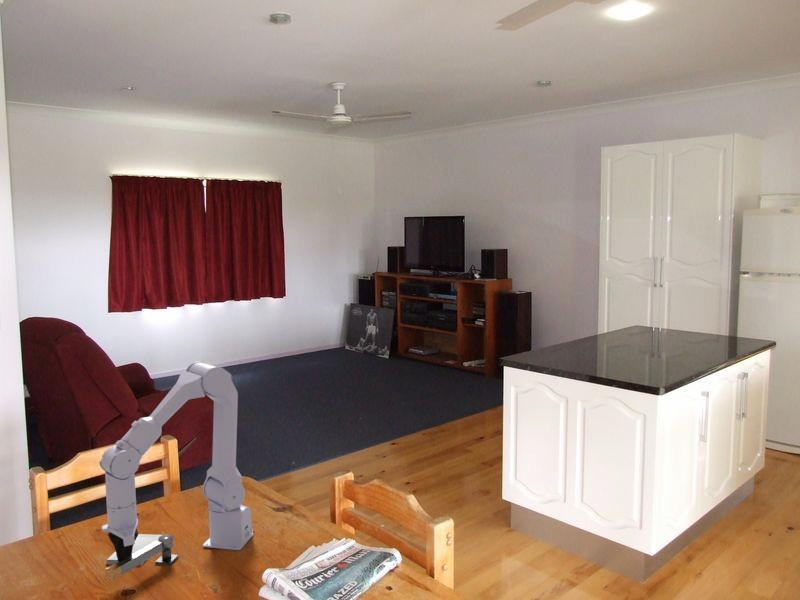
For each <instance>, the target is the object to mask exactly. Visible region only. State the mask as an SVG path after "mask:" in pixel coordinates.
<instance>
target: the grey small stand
mask: <svg viewBox="0 0 800 600" xmlns="http://www.w3.org/2000/svg"><path fill="white" fill-rule="evenodd" d="M177 559H179V554H172V548H170V549H166V550H162V552H161V556H159V557H158V559H156V560H155V561H154V564H155V565H158V566H159V565H160V566H171V565H173V564H174V562H175V561H176V560H177Z"/></svg>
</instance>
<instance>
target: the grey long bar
mask: <svg viewBox="0 0 800 600" xmlns="http://www.w3.org/2000/svg"><path fill="white" fill-rule="evenodd" d="M161 535H162V536H160V537H159V538H158V541H155V542H153V543H151V544H149V545H148V546H146V547H144V548H142V549H141V550H139V551H137V552H135V553H134V554H132V555H130V556H128V557H126V558H125V559H123V560H121V561H119V562H118V563H116V564H110V565H109V566H108V567H106V568H105V578H106V579H107V580H109V581H110V580H111V581H115V580H117V579H118V578H120V577H121V576H122V575H124V574H126V573H128V572H129V571H131V570H132V569H135V568H136V567H138V566H141V565H140V564H141V563H143V562H144V563H145V562H146V561H148V560H150V559H151V558H154V557H155V556H156V555H158V554H160V553H162V550H166V549H170V548H171V549H172V548H173V547H174V545H175V544H174V543H175V542H174V535H172V534H161ZM144 563H143V564H144Z"/></svg>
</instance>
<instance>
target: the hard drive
mask: <svg viewBox="0 0 800 600" xmlns="http://www.w3.org/2000/svg"><path fill="white" fill-rule="evenodd" d="M162 535H163V534H150V533H149V534H147V533H145V534H143V533H138V536H137V538H136V540H135V544H134V545H133V549H132V554H134V553H135V552H137V551H139V550H141V549H142V548H144V547H146V546H148V545H149V544H151V543H153V542H155V541H158V538H159V537H160V536H162ZM105 563H106V565H113V564H116V563H118V559H117V555H116V551H114V552H113V553H112V554H111V555H110V556H109V557H108V558H107V559H106V561H105ZM144 563H145V562H143V563H141V564H140V565H139V566H142V565H143V564H144Z"/></svg>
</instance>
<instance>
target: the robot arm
mask: <svg viewBox="0 0 800 600" xmlns="http://www.w3.org/2000/svg"><path fill="white" fill-rule="evenodd" d="M205 397H209V398H210V399H211V400H212V401H213V422H212V423H213V427H212V428H213V429H212V430H213V431H212V458H211V459H212V461H211V464H212V465H211V466H210V467H209V468H208V469H207V470H206V477H205V481H204V482H203V484H202V485H203V486H202V493H203V495H204V497H205V498H206V499H207V502H208V520H209V521H208V523H209V538H208V539H207V540H206V541H205V542H204V543H203V544H202V547H203V548H211V549H213V548H214V549H221V550H232V551H233V550H234V551H241V550H242V549H243V547H244V546H245V545H246V544H247V543H248V542H249V540H250V539H251V538H252V537H253V536H254V532H253V524H252V509H251V507H249V506H246V505H243V504H242V503H243V502H244V500H245V497H246V491H245V487H244V486H243V477H242V474H241V473H240V472H239V469H238V467H237V441H238V439H237V435H238V406H239V405H238V404H239V402H238V401H239V400H238V399H239V394H238V390H237V388H236V386H235V384H234V382H233V380H232V374H231V373H230V372H229V371H228V370H226V369H224V368H223V367H220V366H215V365H212V364H209V363H206V362H204V361H200V360H198V361H193V362H192V363H190V364H189V365H188V366H187V368H186V369H185V370H184V371H182V373H180V374H179V377H178V379H177V381H176V383H174V385H173V386H172V388H171V389H170V390H169V391H168V393H167V394H166V395H165V397H163V399H162V400H161V401H160V403H159V404H158V405H157V406H156V408H155V409H154V410H153V411H152V413H151V414H150V415H149V416H145V417H140V418H139V419H138V420H134V421H133V422H132V423H131V428H130V429H129V430H128V431H127V432H126V433H125V435H123V437H121V439H120V440H117V441H116V442H115V443H114V444H115V445H113V446H110V447H108V448H107V449H106V450H105V451H104V452H103V454H102V456H101V458H100V460H99V462H98V463H99V464H98V465H99V466H100V468H101V469H102V470H103V471H104V475H105V480H104V481H105V498H106V514H107V523H106V524H103V525H101V531H102V532H103V533H107V532H108V533H107V536H108V538H109V540H110V542H111V543H112V545H113V547H114V550H115V551H116V555H117V559H118V562H119V561H121V560H123V559H125V558H126V557H128V556H130V555H132V549H133V545H134V544H135V540H136V538H137V536H138V534H139V531H138V525H139V519H138V513H137V512H138V511H137V497H136V496H137V494H136V492H137V491H136V480H135V479H136V478H135V477H136V476H135V475H136V474H135V473H136V472H137V471H138V470H139V467H140V461H141V460H142V458H143V456H144V455H145V454H146V453H147V451H148V450H149V449H150V448H151V447H152V446H153V445H154V444H155V442H156V441H157V440H158V439H159V438H160V436H162V433H163V432H162V429H163V428H162V427H163V425H164V424H166V423H167V422H168V420H170V418H171V417H173V416H174V415H175V413H176V412H177V411H178V410H180V409H181V408H182V407H183V405H184V404H185V403H186V402H187V401H189V400H192V399H200V398H205ZM115 551H114V552H115Z"/></svg>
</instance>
